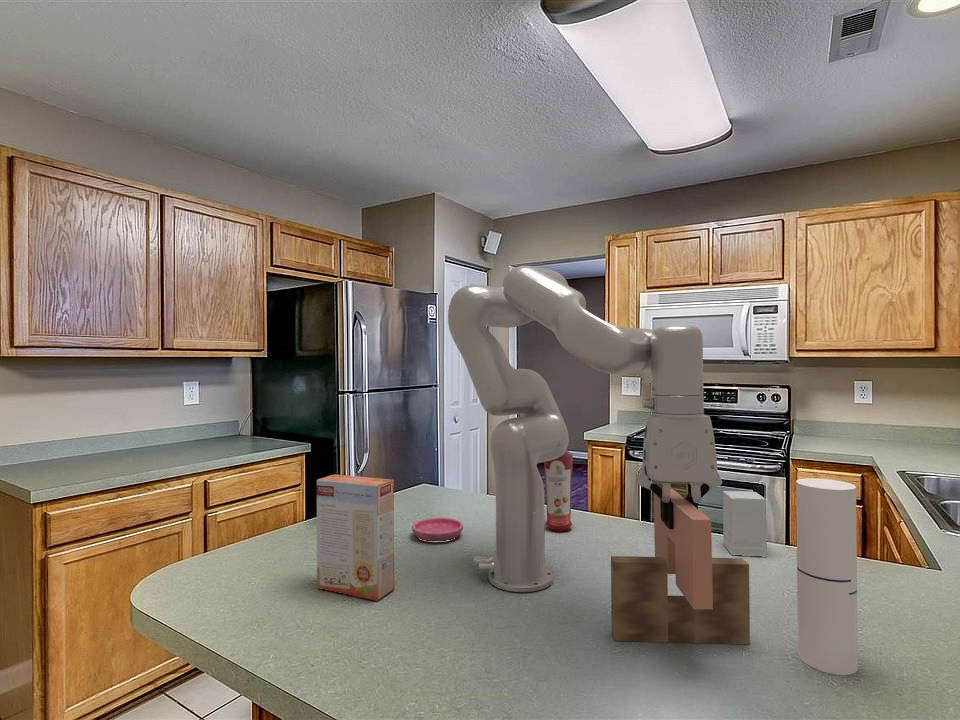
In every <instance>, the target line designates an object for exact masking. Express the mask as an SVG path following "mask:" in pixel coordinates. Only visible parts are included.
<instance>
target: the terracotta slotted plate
mask: <svg viewBox="0 0 960 720" xmlns="http://www.w3.org/2000/svg"><path fill="white" fill-rule="evenodd" d="M670 498H671V502H672V503H673V511H674V528H673V529H668V527H667V526H666V525H665V524H664V522H662V521H661V512H660V498H659V497H658V496H657V495H656V494H655V493H654V492H653V517H654V518H653V525H654V526H653V527H654V528H653V529H654V530H653V531H654V535H653V536H654V538H653V539H654V557H663V558H664V559H665V560H666V562H667V569H668V575H675V585H676V587H677V589H678V590H679V592H680V593H682V596H685V598H686V599H687V601H688V602H689V603H690V605H691V606H692V607H693V609H713V591H712V558H713V554H712V553H713V550H712V549H713V547H712V546H713V543H712V542H713V541H712V539H713V538H712V519H711V518H710V517H709V516H707V515H706V514H704V512H702V511H701V510H700V509H699V508H698V509H697V508H696V507H695V506H693V505H692V504H691V503H689V502H688V501H687V500H686V499H685V497H683V496H682V495H681V494H679V493H678V492H677V491H676V490H674V488H672V487H671V491H670Z"/></svg>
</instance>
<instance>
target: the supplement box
mask: <svg viewBox="0 0 960 720" xmlns="http://www.w3.org/2000/svg"><path fill="white" fill-rule="evenodd" d="M722 517H723V520H722V521H723V522H722V523H723V524H722V526H723V527H722V529H723V531H722V532H723V533H722V534H723V536H722V537H723V538H722V540H723V543H722V544H723V546H724V547H725V548H726V550H727V551H728V552H729V553H730V555H731V556H735V555H742V556H741V557H750V556H762V557H761V558H767V556H768V547H767V546H768V543H767V542H768V539H767V538H768V537H767V536H768V535H767V531H768V529H767V528H768V527H767V526H768V525H767V523H768V522H767V499H766V498H765V497H763V496H762V495H760V494H759V493H758V492H756V491H745V490H744V491H742V490H740V491H739V490H723V491H722Z"/></svg>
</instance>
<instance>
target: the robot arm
mask: <svg viewBox="0 0 960 720" xmlns="http://www.w3.org/2000/svg"><path fill="white" fill-rule="evenodd" d="M501 286H502V287H499V286H490V285H483V284H473V285H472V284H470V285H466V286H462V287H460V288H459V289H458V290H457V291H456V292H454V294H453V296H452V297H451V299H450V301H449V302H450V303H449V305H448V311H447V323H448V329H449V332H450V336H451V338H452V340H453V342H454V345H455V346H456V348H457V351H459V353H460V355H461V357H462V359H463V361H464V363H465V365H466V369H467V372H468V374H469V377H470V379H471V383H472V385H473V387H474V390H475V392H476V396H477V397H478V399H479V402H480V405H481V406H482V408H483V410H484V411H485V412H486V413H487V414H488V415H491V416H495V417H503V416H505V417H506V416H512V415H513V416H514V415H519V416H518V417H517V416H516V417H512V418H507V419H505V420H503V421H501V422H500V423H498V424H497V425H496V426H495V427H494V429H493V431H492V432H491V435H490V439H489V440H490V441H489V442H490V443H489V446H490V447H489V448H490V454H491V459H492V463H493V471H494V480H495V481H494V482H495V551H494V554H493V555H492V554H491V555H489V556H481V555H480V556H478V555H477V556H475V555H474V556H473V567H477V568H478V571H488V582H489V583H490V584H491V585H493V586H494V587H496V588H497V589H500V590H504V591H507V592H514V593H532V592H538V591H542V590H545V589H546V588H548V587H550V586H551V585H552V583H553V582H554V574H553V573H554V572H553V571H552V570H551V569H550V568H548V567H547V566H546V540H545V539H546V524H545V522H546V520H545V519H546V517H545V516H546V515H545V511H546V509H545V503H546V501H545V487H544V486H545V485H544V482H543V478H542V476H541V473H540V472H539V469H538V466H537V465H538V464H541V463H544V462H546V461H550V460H554V459H557V458H559V457H560V456H562V455H563V454H564V453H565V451H566V450H567V449H568V446H569V442H570V441H569V440H570V439H569V438H570V437H569V431H568V427H567V425H566V422H565V420H564V417H563V416H562V413H561V410H560V409H559V406H558V404H557V402H556V400H555V398H554V396H553V393H552V391H551V388H550V387H549V384H548V383H547V381H546V379H544V377H543V376H542V375H541V374H540V373H539V372H537V371H535V370H533V369H528V368H514V367H513V366H512V365H511V363H510V362H509V360H508V357H507V355H506V351H505V350H504V348H503V346H502V345H501V342H500V341H499V340H498V339H497V337H496V336H494V335H493V334H492V333H491V331H489V330H488V329H489V328H488V327H490V328H505V329H506V328H507V329H509V328H516V327H520V326H523V325H526V324H528V323H531V322H534V321H536V322H538V323H539V324H541V325H542V326H543V327H546V328H547V329H548V330H550V331H552V332H553V334H554V335H555V337H556V339H557V340H558V342H559V344H560V345H561V346H562V347H563V349H564V350H566V352H568V353H569V354H571V355H572V356H574V357H576V358H577V359H579V360H580V361H582V362H583V363H585V364H587V365H588V366H589V367H591V368H593V369H595V370H597V371H599V372H602V373H605V374H609V375H622V374H625V375H626V374H628V375H629V374H644V373H650V376H651V377H650V378H651V379H650V380H651V381H650V382H651V383H650V384H651V388H650V389H651V390H650V391H651V394H650V395H649V398H647V399H646V398H645V399H642V400H641V406H642V408H643V409H649V410H650V412H651V414H647V416H646V421H645V427H644V428H645V429H644V435H643V446H642V447H643V448H642V466H641V467H640V470H639V472H638V475H637V476H636V478H635V482H636V484H637V485H639V486H641V487H643V488H645V489H647V490H650V491H652V492H653V494H654V493H655V494H656V495H657V496H658V497H659V498H660V512H661V521H662V522H664V524H665V525H666V526H667V527H668V529H673V528H674V511H673V503H672V502H671V498H670V491H671V488H672V486H671V485H672V484H686V496H685V497H684V499H686V500H687V501H688V502H689V503H691V504H692V505H693V506H695V507H696V508H697V509H698V510H699V503H700V502H701V500H702V498H703V497H704V496H705V495H706V494H707V493H709V492H710V490H713V489H715V488H717V487H719V486H721V485H723V481H722V478H721V476H720V474H719V472H718V461H717V457H718V456H717V449H716V442H715V435H714V434H715V433H714V428H713V425H712V419H711V416H710V415H706V414H705V405H704V403H705V402H704V400H705V399H704V398H705V397H704V350H703V349H704V347H703V345H704V344H703V342H704V341H703V333H702V331H701V329H700V328H698V327H697V326H693V325H666V326H665V325H664V326H660V327H656V328H654V329H650V328H639V327H630V326H617V325H613V324H612V323H609V322H607V321H606V320H603V319H601V318H600V317H598V316H596V315H595V314H593V313H591V312H590V311H588V310H587V309H586V306H587V301H586V298H585V296H584V294H583V293H582V292H581V291H578V290H577V289H575V288H573V287H572V286H569V284H568V282H567V280H566V278H565V277H564V276H563V274H561V273H559V272H558V271H555V270H553V269H548V268H544V267H543V268H542V267H538V266H537V267H536V266H532V265H520V266H516V267H514V268H512V269H510V270H509V271H508V272H507V273H506V274H505V276H504V278H503V280H502V284H501Z"/></svg>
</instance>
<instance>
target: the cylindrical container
mask: <svg viewBox="0 0 960 720" xmlns="http://www.w3.org/2000/svg"><path fill="white" fill-rule="evenodd" d="M795 501H796V503H795V504H796V505H795V506H796V507H795V509H796V513H795V515H796V521H795V522H796V590H797V592H796V597H797V598H796V599H797V600H796V602H797V603H796V605H797V607H796V608H797V622H796V623H797V656H798V658H799V660H801V661H802V662H803V663H804V664H805V665H807V666H809V667H810V668H813V669H815V670H817V671H821V672H823V673H825V674H830V675H836V676H837V675H838V676H849V675H854V674H856V673H857V672H858V670H859V659H858V658H859V657H858V656H859V651H858V647H859V645H858V644H859V643H858V642H859V641H858V639H859V638H858V556H857V555H858V554H857V552H858V547H857V545H858V544H857V543H858V541H857V540H858V539H857V535H858V534H857V533H858V532H857V486H856V485H855V484H853V483H850V482H847V481H843V480H836V479H830V478H829V479H827V478H814V477H813V478H812V477H809V478H807V477H805V478H800V479H799V478H798V479H796V480H795Z"/></svg>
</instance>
